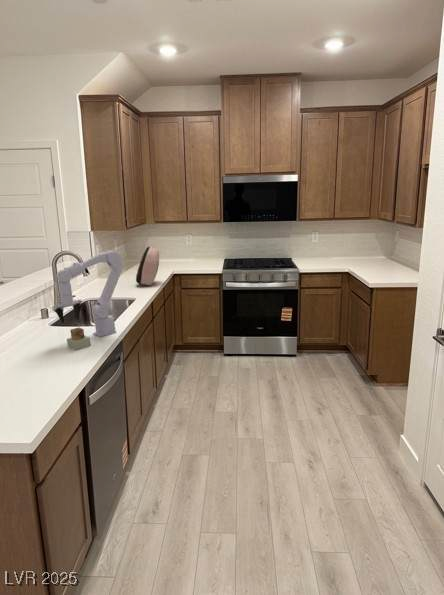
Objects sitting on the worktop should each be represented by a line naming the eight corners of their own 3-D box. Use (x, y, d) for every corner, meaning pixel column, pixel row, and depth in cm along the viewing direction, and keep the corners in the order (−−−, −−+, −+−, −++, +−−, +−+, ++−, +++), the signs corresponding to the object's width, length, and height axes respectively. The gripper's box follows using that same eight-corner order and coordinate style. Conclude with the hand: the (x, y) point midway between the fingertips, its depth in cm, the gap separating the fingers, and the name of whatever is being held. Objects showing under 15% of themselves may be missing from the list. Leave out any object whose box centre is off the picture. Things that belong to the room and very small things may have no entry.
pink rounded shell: (138, 282, 337) (134, 245, 329) (162, 280, 339) (158, 244, 331) (135, 288, 316) (131, 249, 308) (161, 286, 318) (157, 247, 310)
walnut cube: (80, 335, 202) (79, 327, 201) (84, 337, 199) (83, 329, 198) (71, 338, 199) (70, 329, 198) (75, 340, 196) (74, 331, 195)
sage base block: (83, 341, 205) (82, 334, 204) (91, 345, 200) (89, 337, 199) (67, 346, 200) (66, 338, 199) (75, 350, 194) (74, 342, 193)
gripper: (76, 290, 210) (79, 315, 214) (48, 296, 200) (52, 322, 204) (82, 292, 205) (86, 318, 209) (54, 298, 195) (58, 325, 199)
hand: (69, 320), depth 206 cm, fingers open, 7 cm apart
